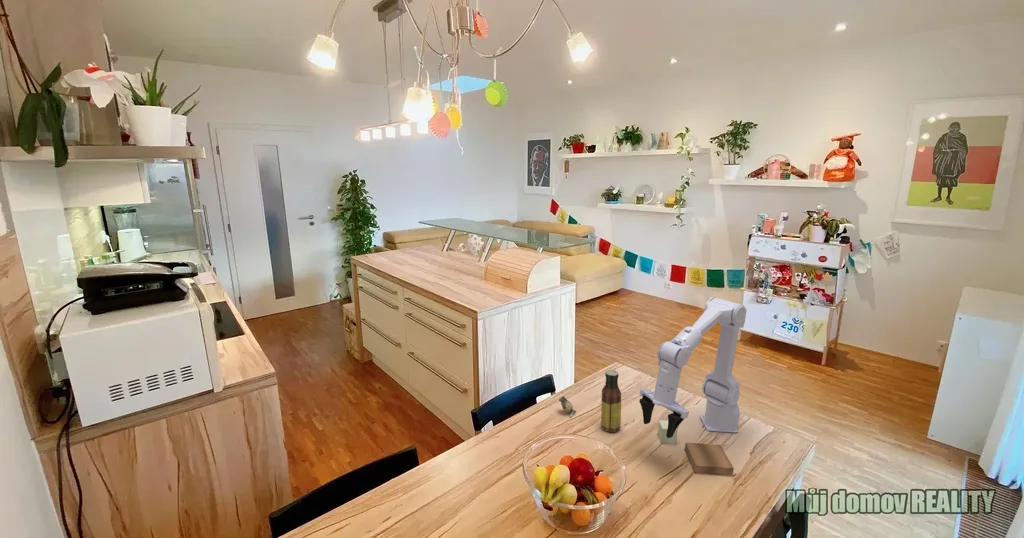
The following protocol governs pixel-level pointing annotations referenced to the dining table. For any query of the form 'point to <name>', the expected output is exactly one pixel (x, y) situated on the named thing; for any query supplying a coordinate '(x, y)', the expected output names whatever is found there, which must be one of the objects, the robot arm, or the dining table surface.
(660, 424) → the sage cube
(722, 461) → the walnut block
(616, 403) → the sauce bottle
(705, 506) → the dining table surface
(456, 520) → the dining table surface
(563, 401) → the bird figurine
